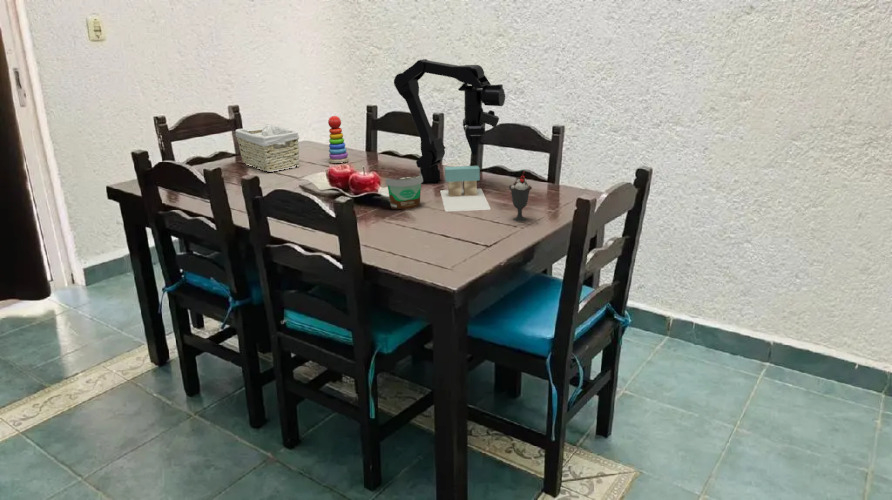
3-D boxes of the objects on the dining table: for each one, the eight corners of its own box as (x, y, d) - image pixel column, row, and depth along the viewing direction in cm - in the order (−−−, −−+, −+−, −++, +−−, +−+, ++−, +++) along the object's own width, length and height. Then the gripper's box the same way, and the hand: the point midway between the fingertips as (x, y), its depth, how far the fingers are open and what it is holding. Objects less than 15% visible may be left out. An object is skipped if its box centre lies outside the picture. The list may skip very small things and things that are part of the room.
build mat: (445, 212, 199) (445, 211, 198) (440, 191, 221) (440, 190, 221) (491, 210, 199) (491, 209, 199) (481, 189, 222) (481, 188, 222)
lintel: (446, 181, 212) (445, 169, 210) (445, 178, 215) (444, 167, 214) (479, 180, 212) (479, 168, 211) (478, 177, 216) (478, 165, 215)
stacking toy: (335, 159, 270) (331, 114, 264) (352, 160, 268) (348, 114, 261) (325, 163, 264) (321, 117, 257) (343, 165, 261) (339, 117, 254)
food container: (394, 214, 199) (392, 182, 195) (386, 208, 204) (384, 177, 200) (430, 207, 204) (429, 176, 200) (422, 202, 209) (421, 172, 206)
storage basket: (303, 167, 258) (300, 130, 253) (266, 175, 248) (261, 136, 243) (274, 158, 275) (270, 123, 270) (238, 165, 265) (233, 129, 260)
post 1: (449, 196, 213) (449, 181, 212) (448, 193, 217) (448, 178, 215) (461, 196, 214) (461, 181, 212) (460, 192, 217) (460, 178, 216)
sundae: (525, 225, 186) (526, 174, 180) (504, 221, 189) (504, 171, 184) (535, 219, 191) (536, 168, 186) (514, 215, 194) (515, 166, 189)
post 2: (464, 196, 214) (464, 181, 212) (463, 192, 217) (463, 178, 216) (476, 195, 214) (476, 180, 212) (475, 192, 218) (475, 177, 216)
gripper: (500, 108, 207) (500, 157, 212) (494, 100, 224) (494, 145, 230) (465, 109, 207) (465, 157, 212) (462, 101, 224) (463, 146, 230)
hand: (473, 151), depth 221 cm, fingers open, 9 cm apart
